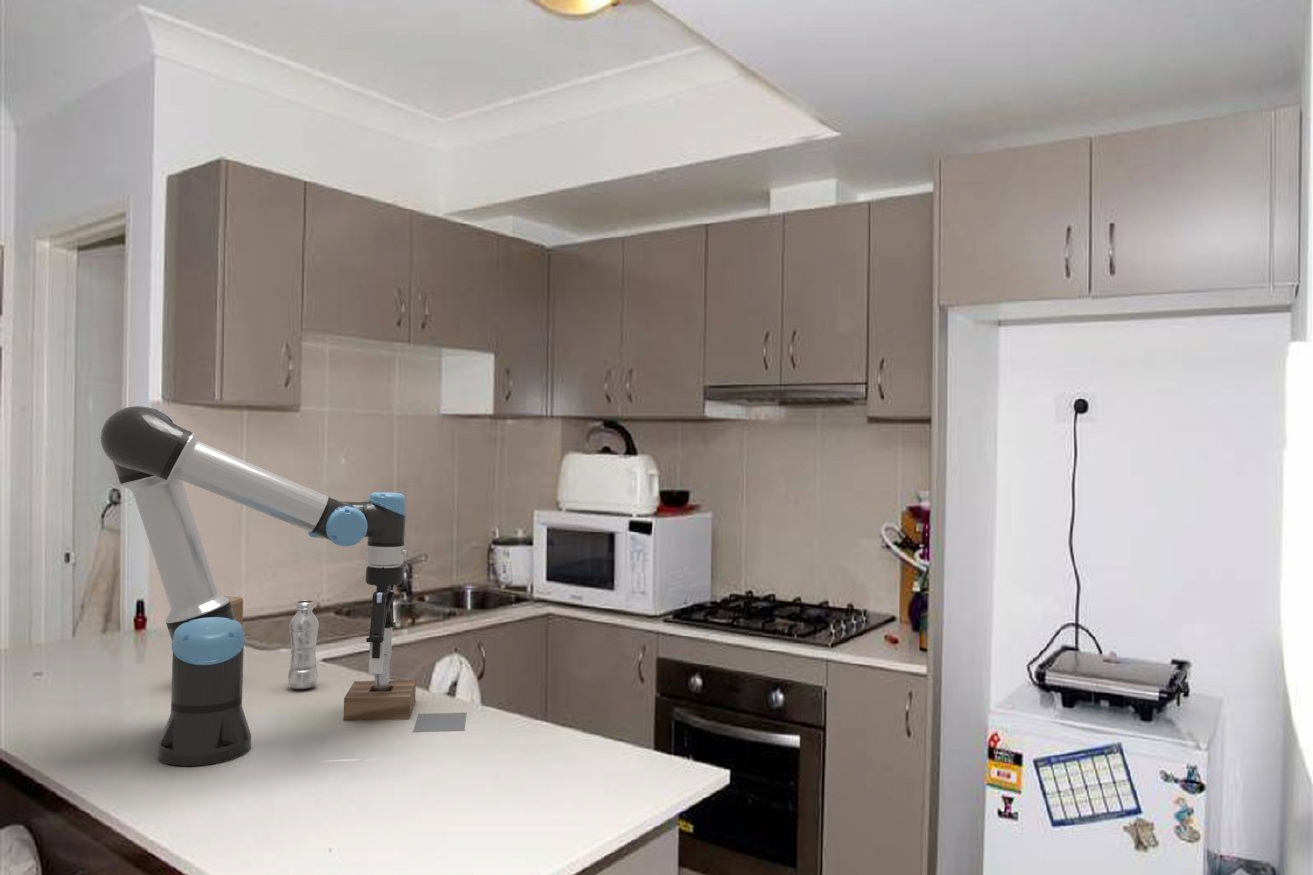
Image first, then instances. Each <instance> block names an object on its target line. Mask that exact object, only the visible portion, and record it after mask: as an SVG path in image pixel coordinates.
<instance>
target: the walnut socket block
mask: <svg viewBox="0 0 1313 875" xmlns="http://www.w3.org/2000/svg"><path fill="white" fill-rule="evenodd" d="M374 683H375V680H354V681H353V683H352V684H351V686H350V688H349V689H348V690H347V693H346V694H345V696H344V697H343V721H344V722H347V721H348V722H349V721H350V722H351V721H352V722H353V721H355V722H357V721H390V720H391V721H393V720H398V721H399V720H410V718H411V715H412V712H413V709H414V706H415V703H416V686H417V685H416V684H417V680H416V679H408V680H406V679H404V680H402V679H399V680H389V691H386V692H374Z"/></svg>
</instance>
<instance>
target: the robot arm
mask: <svg viewBox="0 0 1313 875" xmlns="http://www.w3.org/2000/svg"><path fill="white" fill-rule="evenodd" d="M100 444H101V447H102V450H103V452H104V453H105V455H106V456H107V457H108V459H109V460H110V461H112V463H113V467H114V469H115V472H116V475H117V478H118V481H119V484H120V485H119V486H122V487H124V488H125V489H127V490H129V491H130V492H132V494H133V498H134V500H135V504H136V506H137V510H138V513H139V515H140V518H141V521H142V525H143V528H144V530H145V533H146V538H147V539H148V543H149V547H150V549H151V552H152V555H153V559H154V561H155V564H156V568H157V571H158V574H159V577H160V580H161V583H162V586H163V589H164V592H165V595H166V598H167V601H168V604H169V607H170V611H169V613H168V615H167V617H166V618H165V620H164V621H165V625H166V627H167V630H168V634H169V636H170V639H171V650H172V660H171V661H172V662H171V664H172V668H171V670H172V671H171V692H170V693H171V695H170V698H171V700H170V714H169V717H168V720H167V722H166V725H165V727H164V730H163V733H162V736H161V738H160V741H159V744H158V755H157V756H158V760H159V761H160V762H162V763H164V764H167V765H170V766H171V765H172V766H178V767H181V766H183V767H190V766H191V767H192V766H194V767H196V766H204V765H205V766H206V765H211V764H212V765H213V764H218V763H219V764H220V763H223V762H227V761H230V760H234V759H236V758H238V757H241V756H242V755H243V756H244V755H245V754H246V753H248V752H249V751H250V749H251V747H252V734H251V731H250V730H251V729H250V727H249V724H248V720H247V717H246V715H245V711H244V708H243V682H244V681H243V679H244V675H243V674H244V651H245V648H244V647H245V643H246V637H245V631H244V626H243V624H242V625H241V624H240V623H239V622H238V621H236V619H235V616H234V613H233V609H232V607H231V603H230V600H229V599H228V598H226V597H224V596H225V595H222V594H220V593H219V591H218V589H217V585H216V582H215V579H214V578H215V577H214V575H213V572H212V569H211V566H210V563H209V560H208V557H207V553H206V551H205V547H204V544H203V542H202V539H201V535H200V532H199V529H198V528H199V527H198V525H197V522H196V519H195V516H194V514H193V510H192V507H191V506H192V505H191V504H190V500H189V497H188V495H187V494H188V493H187V491H186V487H185V485H184V482H185V483H188V484H190V485H193V486H194V487H198V488H200V489H203V490H205V491H208V492H210V493H213V494H216V495H217V496H220V497H223V498H225V499H228V500H231V501H232V502H236V503H237V504H240V505H242V506H245V507H247V508H250V509H252V510H255V511H256V512H260V513H262V514H264V515H267V516H270V517H273V518H275V519H276V520H279V521H282V522H285V523H287V524H289V525H292V526H294V527H297V528H299V529H302V530H304V531H307V534H308V536H310V537H311V538H321V539H326V540H328V541H331V542H332V543H333V544H335V545H337V546H340V547H352V546H354V545H357V544H359V543H360V542H361V541H363V539H364V538H367V544H366V558H365V561H366V564H367V567H366V569H365V583H366V584H367V585H369V586H376V590H375V591H374V592H373V593H372V607H371V609H372V610H371V619H370V626H369V635H368V637H366V638H365V641H366V643H369V657H368V675H375V674H383V657H384V654H389V655H390V659H391V658H392V643H393V642H392V640H393V628H396V626H397V623H396V621H395V618H394V599H395V598H394V597H395V592H394V587H395V586H399V585H402V583H403V579H404V578H403V577H404V576H403V575H404V567H403V566H402V564H403V563H404V555H407V553H408V552H407V550H406V549H404V546H405V536H406V535H405V532H406V531H405V530H406V517H407V510H406V509H407V508H406V507H407V506H406V505H407V504H406V502H407V501H406V497H405V495H404V494H402V493H399V492H387V491H386V492H383V491H381V492H379V491H377V492H375V491H374V492H372V493H370V495H369V498H368V501H366V500H365V501H340V500H338V499H335V498H333V497H331V496H328V495H325V494H323V493H322V492H321V493H320V492H318V491H316V490H314V489H311V488H309V487H307V486H304V485H302V484H300V483H297V482H295V481H293V480H291V479H288V478H286V477H283V476H281V475H279V474H276V473H274V472H271V471H270V470H267V469H264V468H262V467H260V466H258V465H255V464H252V463H251V462H249V461H246V460H243V459H241V458H239V457H236V456H234V455H232V454H230V453H227V452H224V451H222V450H220V449H218V448H215V447H213V446H211V445H208V444H206V443H204V442H202V441H199V440H198V437H197V436H196V434H195V433H194V432H192V431H190V430H187V429H185V428H184V427H181V426H179V425H178V424H175V423H174V422H173V419H171V418H170V417H169V415H167V414H166V413H164V412H163V411H160V410H159V409H157V408H153V407H148V406H138V405H137V406H128V407H124V408H122V409H120V410H117V411H116V412H115V413H113V414H111V415H110V416H109V417H108V419H107V420H106V421H105V422H104V424H103V426H102V428H101V433H100Z"/></svg>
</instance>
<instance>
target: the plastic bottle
mask: <svg viewBox="0 0 1313 875" xmlns="http://www.w3.org/2000/svg"><path fill="white" fill-rule="evenodd" d="M313 610H314V600H311V599H309V600H307V599H306V600H305V599H303V600H297V601H296V607H295V611H296V613H295V614H294V616H293V617H292V618H291V620H290V623H289V627H288V628H289V635H290V636H289V637H290V648H291V650H290V654H291V655H290V663H289V664H290V665H289V669H288V674H287V684H288V685H289V687H290V688H291V689H294V690H305V689H312V688H313V687H315V686H316V684H317V682H318V679H319V672H318V667H317V660H316V659H317V656H316V651H317V650H316V649H317V648H316V647H317V639H318V633H319V627H320V626H319V625H320V622H319V619H318V618H317V617H316V615H315V614H314V612H313Z"/></svg>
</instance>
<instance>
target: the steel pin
mask: <svg viewBox="0 0 1313 875" xmlns="http://www.w3.org/2000/svg"><path fill="white" fill-rule="evenodd" d="M390 666H391V658H390V655H389V654H384V657H383V674H374V681H375V683H374V692H386V691H389V681H390V673H391V672H390V671H391V670H390V668H391V667H390Z"/></svg>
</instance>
